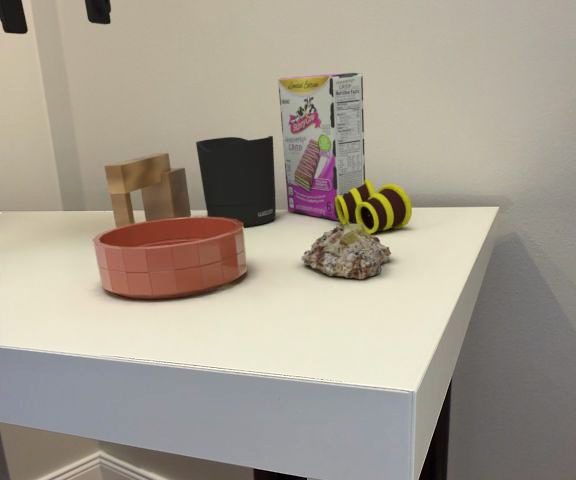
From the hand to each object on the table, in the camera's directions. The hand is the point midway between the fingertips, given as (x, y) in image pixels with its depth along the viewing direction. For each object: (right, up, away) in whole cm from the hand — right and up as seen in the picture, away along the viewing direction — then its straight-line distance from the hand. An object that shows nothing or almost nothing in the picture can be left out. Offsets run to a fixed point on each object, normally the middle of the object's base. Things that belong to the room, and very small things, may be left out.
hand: (57, 28), depth 65 cm
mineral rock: (+28, -25, -5) cm, 38 cm away
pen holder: (+17, -15, +19) cm, 30 cm away
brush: (+7, -17, +15) cm, 24 cm away
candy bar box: (+28, -14, +20) cm, 37 cm away
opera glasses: (+32, -18, +10) cm, 38 cm away
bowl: (+13, -26, -5) cm, 29 cm away
